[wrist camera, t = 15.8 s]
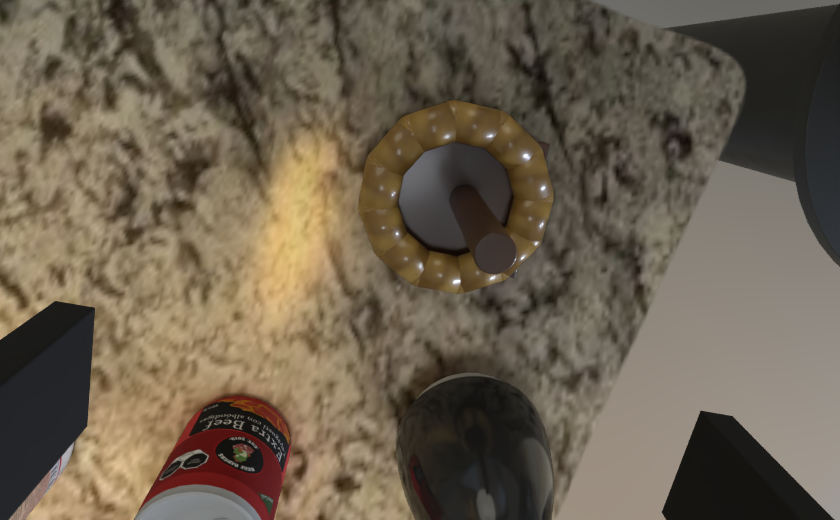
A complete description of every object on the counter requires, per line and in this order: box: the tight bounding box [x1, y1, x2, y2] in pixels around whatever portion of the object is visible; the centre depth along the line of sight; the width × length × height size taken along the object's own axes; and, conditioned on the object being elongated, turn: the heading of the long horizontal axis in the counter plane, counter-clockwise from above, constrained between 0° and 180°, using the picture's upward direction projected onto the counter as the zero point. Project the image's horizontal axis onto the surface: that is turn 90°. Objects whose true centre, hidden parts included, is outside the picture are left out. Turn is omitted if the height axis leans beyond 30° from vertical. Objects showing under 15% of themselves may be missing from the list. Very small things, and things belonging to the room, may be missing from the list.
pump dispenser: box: [396, 373, 554, 520], centre depth 39 cm, size 10×10×15 cm
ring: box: [358, 100, 554, 294], centre depth 39 cm, size 12×12×2 cm
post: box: [398, 113, 550, 278], centre depth 35 cm, size 9×9×14 cm
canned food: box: [134, 396, 291, 520], centre depth 41 cm, size 8×8×11 cm
